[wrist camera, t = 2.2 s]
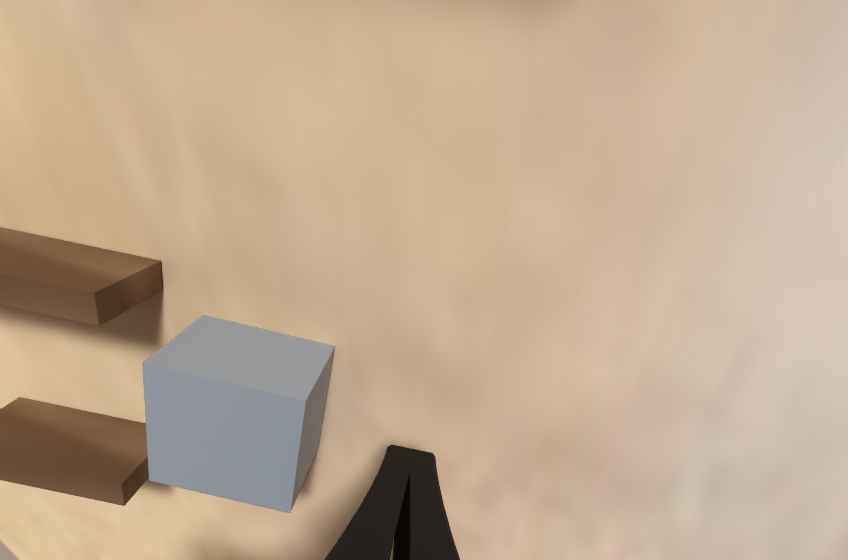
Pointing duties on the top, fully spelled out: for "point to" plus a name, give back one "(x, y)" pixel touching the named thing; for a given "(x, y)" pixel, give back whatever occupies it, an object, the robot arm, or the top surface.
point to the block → (236, 411)
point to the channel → (56, 425)
